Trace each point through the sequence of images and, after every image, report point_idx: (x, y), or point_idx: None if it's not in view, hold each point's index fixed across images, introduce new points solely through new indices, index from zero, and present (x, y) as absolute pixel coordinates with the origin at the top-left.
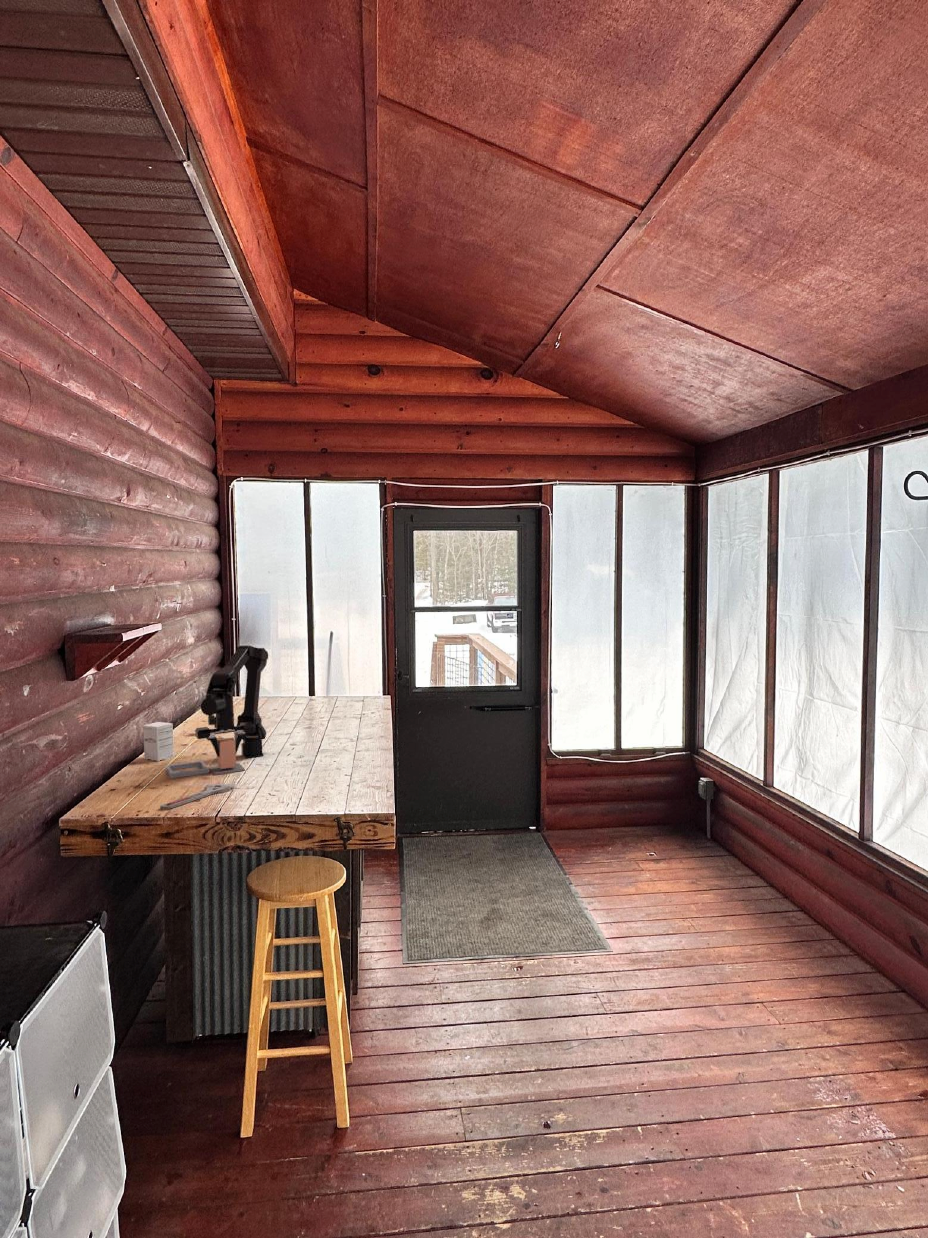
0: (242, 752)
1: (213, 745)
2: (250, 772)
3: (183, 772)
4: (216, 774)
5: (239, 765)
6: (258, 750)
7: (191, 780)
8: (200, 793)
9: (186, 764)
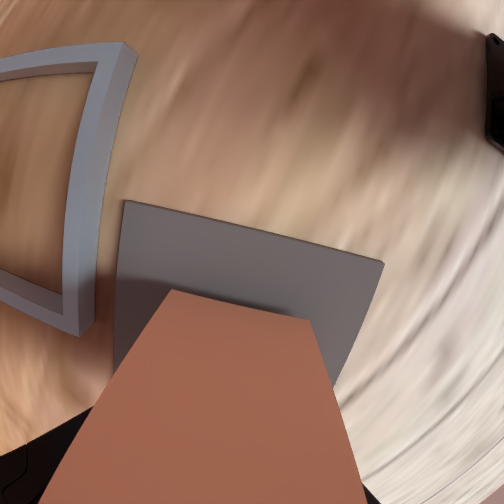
0: (500, 72)
1: (21, 477)
2: None
3: None
4: None
5: (345, 335)
6: None
7: (20, 368)
8: None
9: (24, 69)
